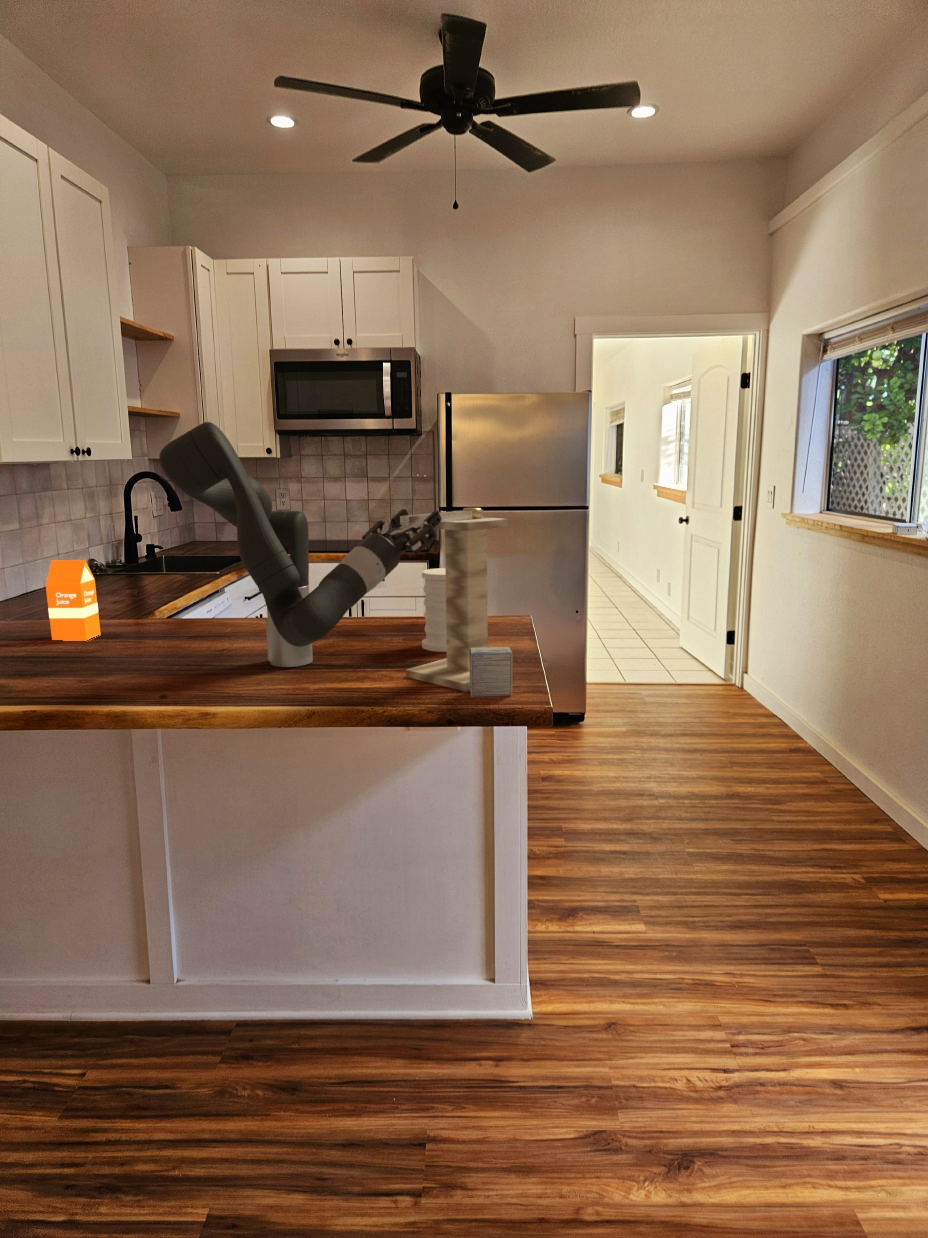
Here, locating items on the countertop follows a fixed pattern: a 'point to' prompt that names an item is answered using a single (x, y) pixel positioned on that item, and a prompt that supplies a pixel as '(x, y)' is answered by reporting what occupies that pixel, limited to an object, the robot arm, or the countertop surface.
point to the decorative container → (435, 610)
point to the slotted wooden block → (444, 516)
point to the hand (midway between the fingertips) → (422, 513)
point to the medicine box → (490, 671)
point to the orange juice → (72, 601)
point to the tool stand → (462, 601)
